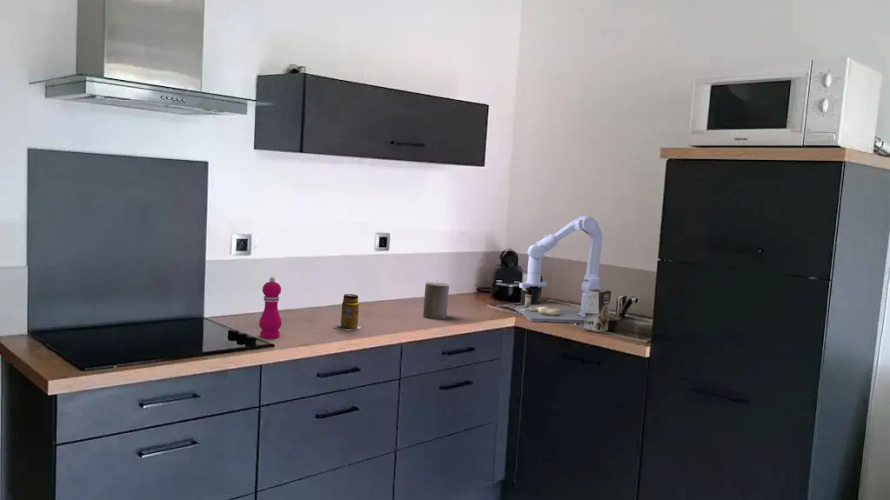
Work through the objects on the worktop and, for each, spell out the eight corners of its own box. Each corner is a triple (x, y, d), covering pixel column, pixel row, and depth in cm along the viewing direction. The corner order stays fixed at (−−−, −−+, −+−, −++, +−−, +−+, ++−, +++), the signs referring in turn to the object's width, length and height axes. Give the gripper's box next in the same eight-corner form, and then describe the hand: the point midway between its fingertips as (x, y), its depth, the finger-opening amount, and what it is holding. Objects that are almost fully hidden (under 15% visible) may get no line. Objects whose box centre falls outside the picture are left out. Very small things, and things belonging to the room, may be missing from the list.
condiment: (362, 327, 264) (364, 295, 263) (348, 331, 257) (350, 297, 256) (346, 324, 268) (347, 292, 267) (332, 328, 260) (333, 295, 259)
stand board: (567, 312, 324) (568, 308, 324) (586, 323, 300) (587, 319, 300) (515, 310, 320) (516, 307, 320) (530, 321, 296) (531, 317, 296)
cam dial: (562, 313, 311) (563, 298, 310) (555, 316, 303) (556, 300, 302) (528, 308, 318) (529, 293, 318) (520, 310, 310) (521, 295, 310)
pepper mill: (254, 337, 238) (256, 277, 236) (267, 333, 245) (269, 274, 243) (272, 340, 236) (275, 279, 234) (285, 336, 243) (287, 277, 241)
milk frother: (537, 305, 338) (540, 274, 337) (504, 301, 343) (507, 270, 341) (542, 301, 352) (545, 270, 350) (510, 297, 356) (513, 267, 355)
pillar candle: (423, 318, 289) (426, 281, 287) (422, 313, 298) (425, 277, 297) (447, 320, 289) (450, 283, 288) (446, 315, 299) (448, 279, 298)
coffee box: (598, 333, 282) (601, 292, 280) (583, 330, 286) (586, 290, 284) (608, 330, 289) (611, 290, 288) (593, 327, 293) (596, 288, 291)
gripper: (539, 270, 321) (537, 301, 323) (515, 271, 313) (513, 303, 314) (551, 273, 316) (548, 303, 317) (526, 274, 307) (524, 305, 308)
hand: (531, 303), depth 315 cm, fingers closed
